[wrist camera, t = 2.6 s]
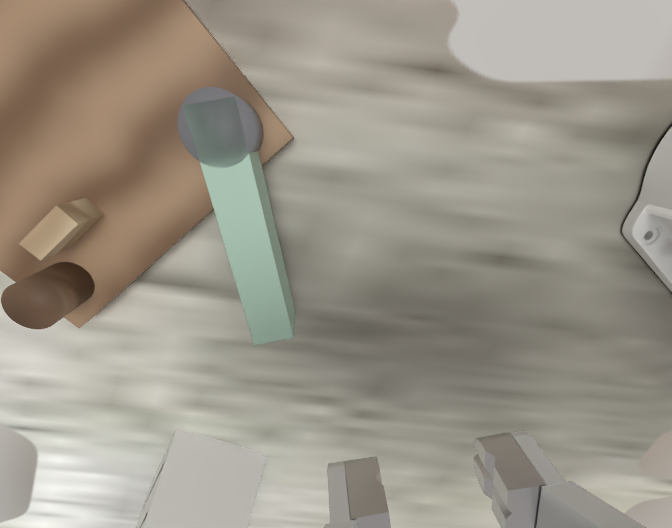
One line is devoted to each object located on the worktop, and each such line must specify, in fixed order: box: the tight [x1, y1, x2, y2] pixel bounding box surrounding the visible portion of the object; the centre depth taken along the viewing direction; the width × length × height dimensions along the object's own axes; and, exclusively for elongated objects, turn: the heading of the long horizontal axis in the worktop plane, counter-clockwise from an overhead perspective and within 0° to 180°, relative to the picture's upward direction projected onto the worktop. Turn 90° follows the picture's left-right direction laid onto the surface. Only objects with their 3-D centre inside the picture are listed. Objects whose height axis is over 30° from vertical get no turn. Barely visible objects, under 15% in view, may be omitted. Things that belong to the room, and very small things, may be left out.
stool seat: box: [0, 0, 294, 329], centre depth 21 cm, size 24×24×6 cm
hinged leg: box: [177, 87, 295, 345], centre depth 23 cm, size 17×4×4 cm, turn 9°
